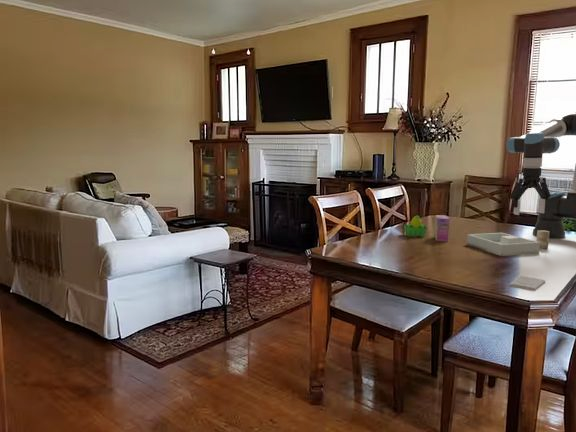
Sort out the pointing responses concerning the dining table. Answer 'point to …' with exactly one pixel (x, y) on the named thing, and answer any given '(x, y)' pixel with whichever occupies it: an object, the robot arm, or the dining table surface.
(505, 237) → the grey cube
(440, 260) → the dining table surface
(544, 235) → the beech cylinder
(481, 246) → the tote
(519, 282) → the external hard drive
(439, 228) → the box
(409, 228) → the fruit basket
